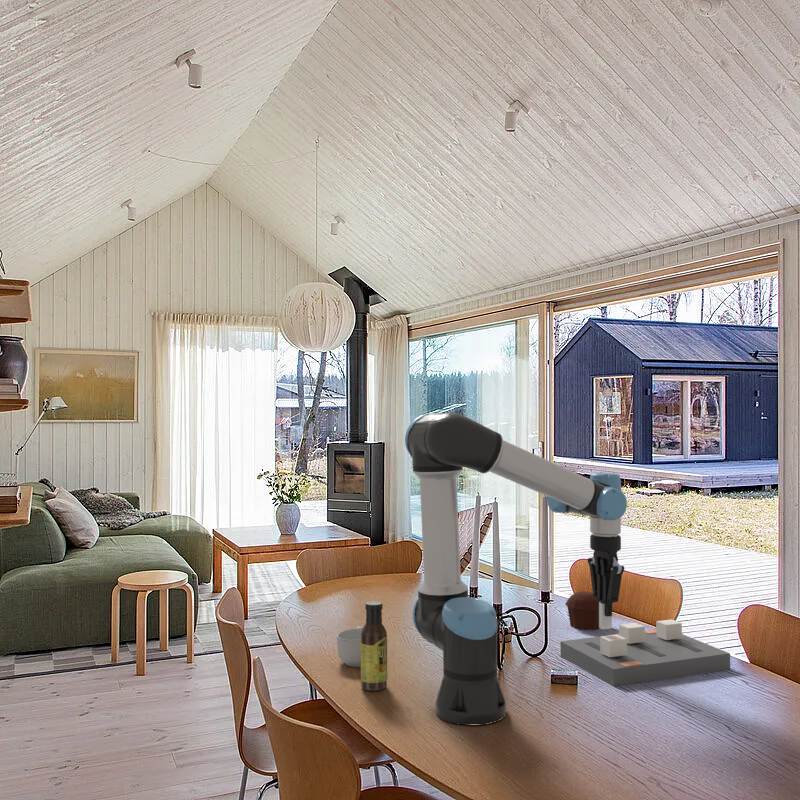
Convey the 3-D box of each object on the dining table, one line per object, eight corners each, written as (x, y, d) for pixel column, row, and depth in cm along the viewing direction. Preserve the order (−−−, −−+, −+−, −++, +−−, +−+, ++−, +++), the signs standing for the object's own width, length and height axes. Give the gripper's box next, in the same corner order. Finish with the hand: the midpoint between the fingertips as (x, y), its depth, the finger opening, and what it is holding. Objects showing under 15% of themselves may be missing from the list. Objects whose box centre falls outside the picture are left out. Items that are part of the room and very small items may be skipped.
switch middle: (645, 641, 205) (644, 626, 205) (628, 643, 204) (628, 628, 204) (635, 637, 209) (635, 622, 209) (619, 639, 208) (619, 624, 208)
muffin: (592, 619, 244) (592, 587, 244) (612, 629, 233) (612, 595, 234) (558, 623, 240) (558, 590, 240) (577, 632, 230) (577, 598, 230)
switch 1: (626, 655, 194) (626, 638, 195) (609, 657, 193) (609, 641, 193) (617, 650, 198) (617, 634, 198) (600, 652, 197) (599, 636, 197)
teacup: (373, 671, 198) (372, 639, 198) (331, 669, 200) (331, 637, 200) (385, 654, 211) (385, 624, 211) (346, 652, 213) (346, 622, 214)
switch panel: (730, 669, 196) (730, 652, 196) (613, 686, 185) (613, 668, 185) (668, 642, 219) (667, 627, 219) (560, 656, 208) (560, 640, 208)
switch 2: (681, 638, 208) (681, 623, 208) (666, 640, 207) (665, 624, 207) (672, 634, 212) (671, 619, 212) (656, 636, 210) (656, 621, 210)
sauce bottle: (383, 693, 182) (382, 607, 182) (357, 691, 184) (356, 605, 184) (390, 683, 188) (389, 600, 189) (365, 682, 190) (364, 599, 190)
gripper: (633, 537, 194) (633, 633, 193) (603, 530, 206) (603, 620, 205) (607, 538, 191) (607, 636, 191) (578, 531, 203) (578, 622, 203)
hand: (605, 628), depth 198 cm, fingers closed
